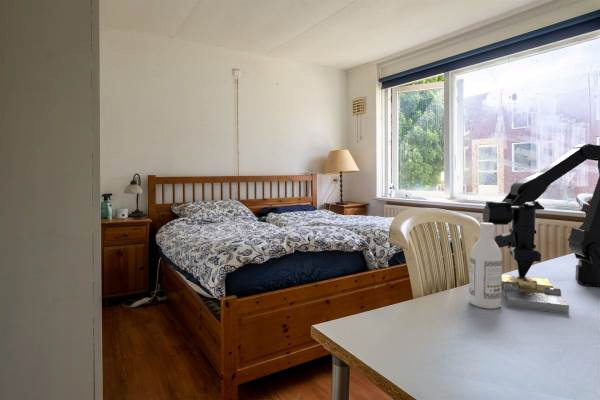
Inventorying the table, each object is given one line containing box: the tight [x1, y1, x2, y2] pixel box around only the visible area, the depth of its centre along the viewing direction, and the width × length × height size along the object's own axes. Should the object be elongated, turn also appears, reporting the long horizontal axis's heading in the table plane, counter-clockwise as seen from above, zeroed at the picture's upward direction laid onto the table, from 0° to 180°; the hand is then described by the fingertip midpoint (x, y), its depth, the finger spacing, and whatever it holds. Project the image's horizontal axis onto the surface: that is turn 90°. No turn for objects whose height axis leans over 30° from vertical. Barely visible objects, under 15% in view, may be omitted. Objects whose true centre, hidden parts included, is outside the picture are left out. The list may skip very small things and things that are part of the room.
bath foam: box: [468, 222, 503, 310], centre depth 89 cm, size 7×7×20 cm
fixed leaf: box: [503, 284, 570, 315], centre depth 89 cm, size 12×9×3 cm
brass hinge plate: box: [502, 274, 554, 293], centre depth 101 cm, size 12×9×3 cm
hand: (521, 278), depth 106 cm, fingers closed
